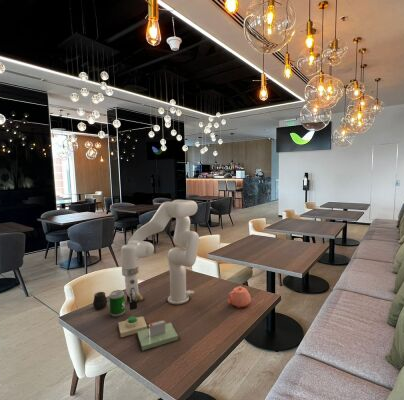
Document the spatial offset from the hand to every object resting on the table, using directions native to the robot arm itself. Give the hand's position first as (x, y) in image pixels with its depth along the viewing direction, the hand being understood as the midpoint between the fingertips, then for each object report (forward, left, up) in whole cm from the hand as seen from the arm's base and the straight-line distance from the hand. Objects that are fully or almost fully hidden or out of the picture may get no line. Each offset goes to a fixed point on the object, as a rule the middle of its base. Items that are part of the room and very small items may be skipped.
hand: (131, 304), depth 129 cm
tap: (-9, +13, -10) cm, 19 cm away
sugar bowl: (-58, +4, -12) cm, 59 cm away
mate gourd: (+13, -30, -12) cm, 35 cm away
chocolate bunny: (-6, -29, -12) cm, 32 cm away
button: (0, 0, -9) cm, 9 cm away
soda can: (+5, -18, -12) cm, 22 cm away
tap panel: (-9, +13, -12) cm, 20 cm away
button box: (0, 0, -12) cm, 12 cm away
